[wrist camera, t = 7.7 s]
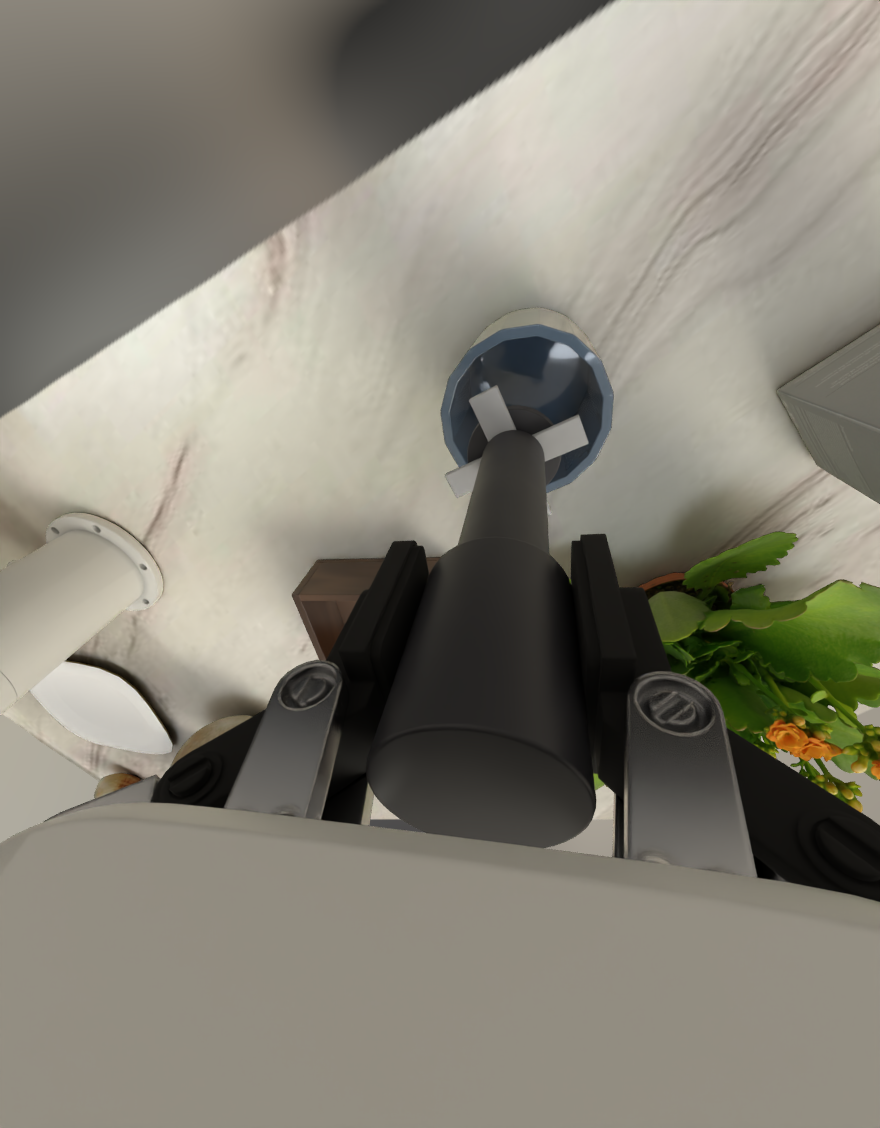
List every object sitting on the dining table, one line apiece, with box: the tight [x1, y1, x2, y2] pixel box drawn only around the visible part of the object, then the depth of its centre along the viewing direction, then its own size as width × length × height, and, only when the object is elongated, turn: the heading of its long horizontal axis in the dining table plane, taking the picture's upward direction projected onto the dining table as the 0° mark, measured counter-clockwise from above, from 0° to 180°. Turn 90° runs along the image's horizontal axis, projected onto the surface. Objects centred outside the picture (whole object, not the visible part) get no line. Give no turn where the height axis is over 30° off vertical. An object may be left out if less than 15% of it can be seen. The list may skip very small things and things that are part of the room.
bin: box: [292, 557, 441, 660], centre depth 42 cm, size 13×13×6 cm
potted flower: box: [569, 532, 880, 812], centre depth 31 cm, size 25×24×18 cm
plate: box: [29, 660, 173, 755], centre depth 66 cm, size 22×22×2 cm
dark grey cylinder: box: [366, 385, 596, 848], centre depth 13 cm, size 6×6×15 cm
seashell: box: [94, 773, 141, 799], centre depth 79 cm, size 10×6×8 cm, turn 40°
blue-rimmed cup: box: [441, 307, 614, 493], centre depth 26 cm, size 9×9×9 cm
